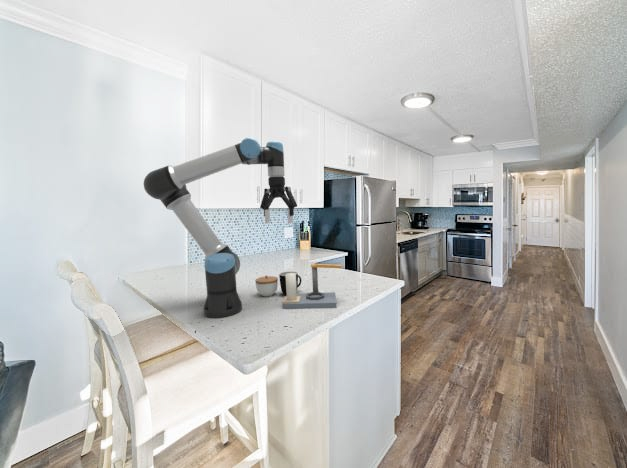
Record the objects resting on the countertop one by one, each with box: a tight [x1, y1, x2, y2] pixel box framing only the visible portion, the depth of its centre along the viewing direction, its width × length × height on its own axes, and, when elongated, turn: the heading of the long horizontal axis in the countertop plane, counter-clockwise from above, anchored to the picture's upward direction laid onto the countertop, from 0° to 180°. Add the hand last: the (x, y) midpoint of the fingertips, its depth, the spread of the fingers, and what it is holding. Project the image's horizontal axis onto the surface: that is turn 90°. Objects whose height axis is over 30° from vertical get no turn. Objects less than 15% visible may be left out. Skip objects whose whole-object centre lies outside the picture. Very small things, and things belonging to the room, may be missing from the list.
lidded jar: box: [255, 274, 279, 297], centre depth 134 cm, size 11×11×9 cm
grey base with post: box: [282, 267, 337, 310], centre depth 120 cm, size 22×14×14 cm, turn 87°
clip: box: [310, 263, 343, 269], centre depth 123 cm, size 14×3×1 cm, turn 69°
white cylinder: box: [285, 273, 298, 301], centre depth 118 cm, size 4×4×11 cm
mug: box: [278, 271, 302, 297], centre depth 134 cm, size 12×9×10 cm
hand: (278, 223), depth 128 cm, fingers open, 13 cm apart
